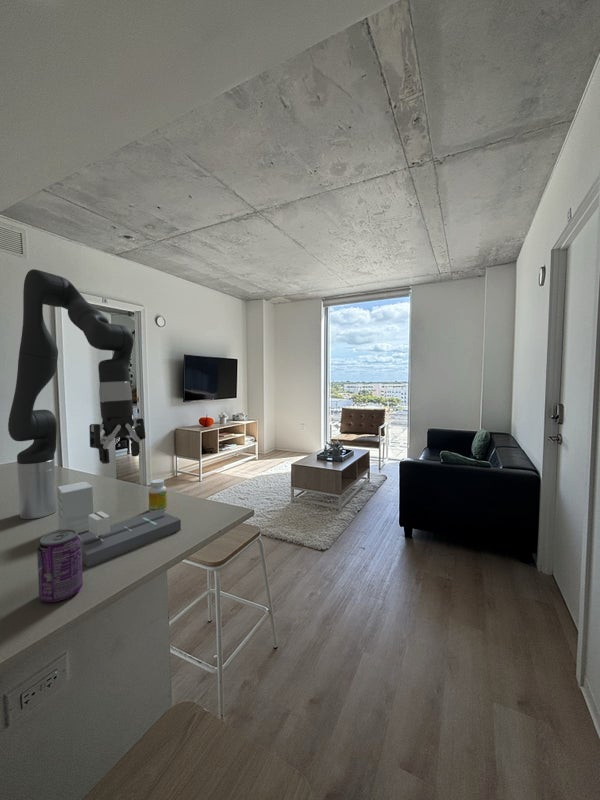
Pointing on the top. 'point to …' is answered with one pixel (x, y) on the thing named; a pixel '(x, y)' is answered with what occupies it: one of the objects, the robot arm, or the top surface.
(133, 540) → the console
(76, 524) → the supplement box
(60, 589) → the beverage can
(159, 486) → the supplement bottle
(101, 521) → the fader knob
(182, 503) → the top surface
